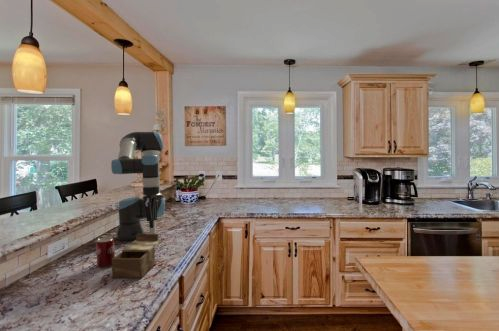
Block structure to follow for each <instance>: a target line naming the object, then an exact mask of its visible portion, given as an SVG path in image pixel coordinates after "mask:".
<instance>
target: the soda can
mask: <svg viewBox="0 0 499 331" xmlns="http://www.w3.org/2000/svg"><path fill="white" fill-rule="evenodd" d="M95 247H96V248H95V249H96V263H97V264H96V267H97V268H98V269H100V270H103V269H109V268H112V259H113V258H114V257H116V255H115V254H116V251H115V250H116V248H115V239H114V238H113V237H110V236H109V237H102V238H98V239H97V240H96V242H95Z"/></svg>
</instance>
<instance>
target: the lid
mask: <svg viewBox="0 0 499 331" xmlns="http://www.w3.org/2000/svg"><path fill="white" fill-rule="evenodd" d="M161 242H162V240H161V239H159V233H156V234H149V233H144V234H136V239H134V241H132V242H131V243H129V244H127V245H126V246H125V247H123V248H122V249H121V252H149V251H150V250H151V249H152V248H154V249H155V247H156V246H157V245H159V244H160V243H161Z"/></svg>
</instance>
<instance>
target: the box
mask: <svg viewBox="0 0 499 331" xmlns="http://www.w3.org/2000/svg"><path fill="white" fill-rule="evenodd" d="M155 254H156V253H155V247H154V248H152V249H151V250H150V251H149V252H122V251H121V252H119V253H118V254H116V255H115V257H114V258H113V259H112V267H111V270H112V271H111V272H112V274H111V275H112V279H116V280H117V279H120V280H121V279H124V280H125V279H127V280H130V279H131V280H134V279H135V280H136V279H137V280H138V279H139V280H142V279H143V278H144V277H145V276H146V275H147V274H148V273H149V272H150V271H151V270H152V269H153V268H154V267H155V266H156V261H155V260H156V259H155V258H156V257H155V256H156V255H155Z"/></svg>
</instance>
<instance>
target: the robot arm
mask: <svg viewBox="0 0 499 331" xmlns="http://www.w3.org/2000/svg"><path fill="white" fill-rule="evenodd" d="M163 144H164V143H163V139H162V134H161V133H160V132H158V131H134V132H133V131H132V132H130V133H127V134H126V135H124V136H123V137H121V139H120V142H119V148H120V149H119V152H118V156H117V158H116V159H112V160H111V173H112V174H113V175H128V174H142V179H141V182H142V186H143V187H142V194H143V196H142V197H143V198H142V199H140V197H138V196H136V197H135V196H133V197H127V198H124V199H122V200H120V201H119V202H118V209H117V210H118V222H119V223H118V224H119V226H118V229H117V232H116V240H118V241H133V240H134V241H135V240H136V234H145V233H144V232H145V231H144V229H143V227H142V224H141V219H146V222H148V226H149V227H148V230H149V233H148V234H157V224H156V221H157V220H158V218H162V217H163V216H165V206H166V197H164V195H163V193H161V181H160V179H161V178H160V176H161V175H160V155H161V154H162V151H163V150H164V145H163ZM135 151H141V154H142V156H141V158H134V156H135V155H134V154H135Z"/></svg>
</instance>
